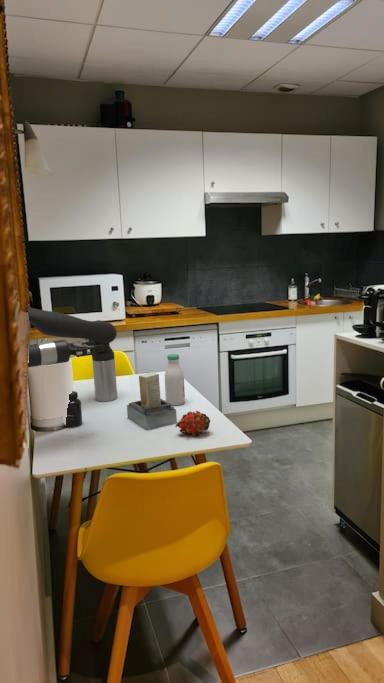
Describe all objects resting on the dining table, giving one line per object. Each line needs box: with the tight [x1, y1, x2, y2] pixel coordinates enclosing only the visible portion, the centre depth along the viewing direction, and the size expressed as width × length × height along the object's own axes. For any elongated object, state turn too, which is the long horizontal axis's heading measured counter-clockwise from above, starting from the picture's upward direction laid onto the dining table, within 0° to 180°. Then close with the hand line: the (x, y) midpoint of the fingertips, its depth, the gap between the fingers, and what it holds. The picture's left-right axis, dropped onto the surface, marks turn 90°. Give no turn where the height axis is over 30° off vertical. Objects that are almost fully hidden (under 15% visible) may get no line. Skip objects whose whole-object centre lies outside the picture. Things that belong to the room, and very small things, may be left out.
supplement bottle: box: [66, 390, 83, 428], centre depth 181 cm, size 7×7×12 cm
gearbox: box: [126, 398, 178, 431], centre depth 183 cm, size 16×12×6 cm
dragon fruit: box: [175, 410, 211, 437], centre depth 168 cm, size 8×8×12 cm
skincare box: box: [138, 372, 162, 409], centre depth 181 cm, size 6×4×12 cm
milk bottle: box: [164, 353, 186, 407], centre depth 200 cm, size 8×8×20 cm
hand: (99, 345), depth 170 cm, fingers open, 8 cm apart
